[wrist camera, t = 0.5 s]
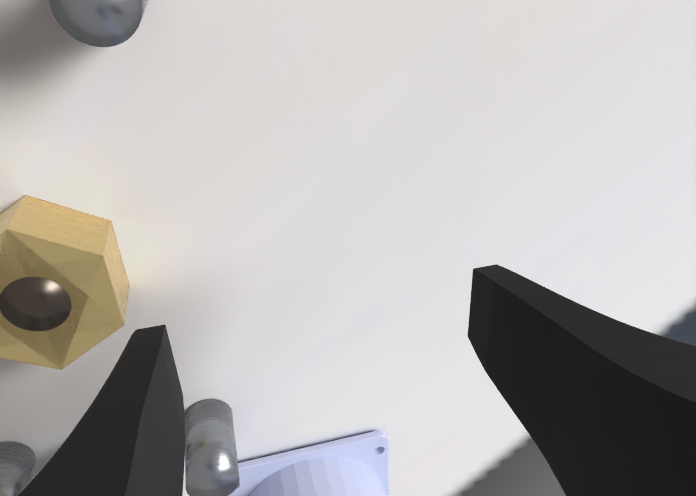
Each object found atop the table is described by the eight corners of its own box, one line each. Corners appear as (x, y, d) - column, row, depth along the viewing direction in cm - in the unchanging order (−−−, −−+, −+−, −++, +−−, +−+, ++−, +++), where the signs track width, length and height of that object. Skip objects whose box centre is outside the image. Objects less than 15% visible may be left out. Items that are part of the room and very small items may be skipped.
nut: (158, 264, 21) (156, 302, 19) (44, 346, 21) (30, 392, 19) (57, 170, 18) (42, 202, 16) (-69, 265, 19) (-100, 307, 17)
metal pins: (235, 427, 25) (242, 494, 22) (-11, 482, 23) (-38, 562, 20) (140, -55, 16) (131, -50, 13) (-290, -33, 14) (-416, -20, 11)
